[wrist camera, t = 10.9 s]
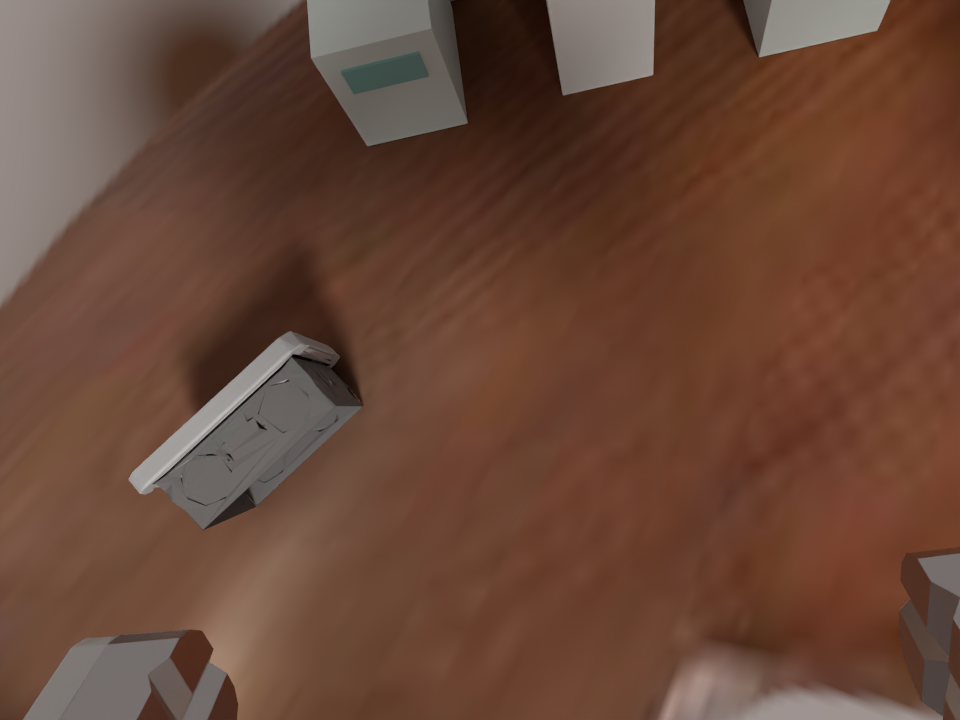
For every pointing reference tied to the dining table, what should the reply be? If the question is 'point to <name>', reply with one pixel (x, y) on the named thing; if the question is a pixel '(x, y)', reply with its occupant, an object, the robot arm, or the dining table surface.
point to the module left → (390, 64)
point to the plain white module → (601, 41)
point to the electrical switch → (251, 432)
